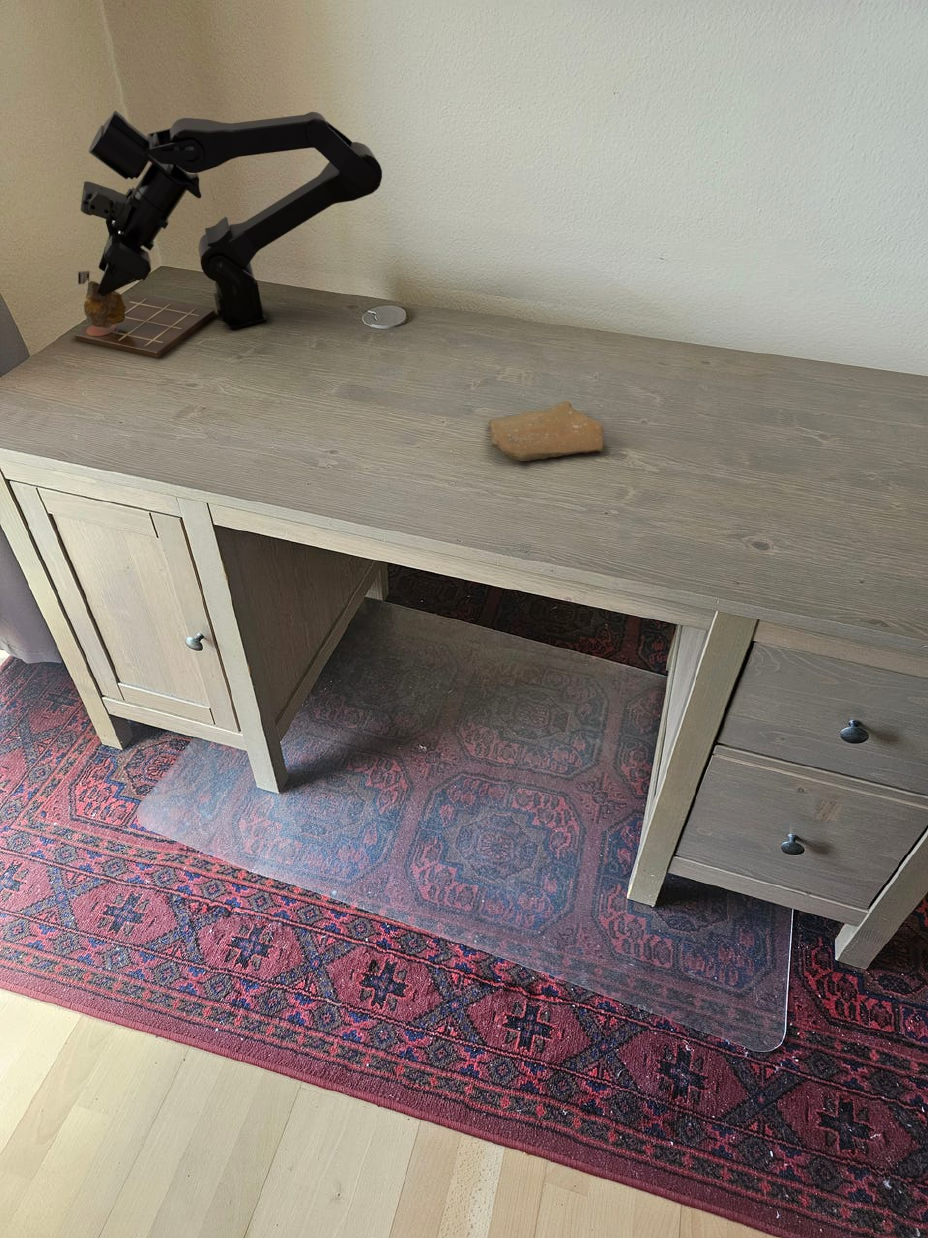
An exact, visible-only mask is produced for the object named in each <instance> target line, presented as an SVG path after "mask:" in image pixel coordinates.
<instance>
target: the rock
mask: <svg viewBox="0 0 928 1238" xmlns="http://www.w3.org/2000/svg"><path fill="white" fill-rule="evenodd" d="M90 274H91V271H90V270H87V271H86V270H82V271H78V272H77V284H78V286H80V285H85V283H87V282H88V284H87V289H86V290H87V291H86V294H85V301H84V303H83V309H84V310H83V312H84V315H85V316H86V321H87V323H88V324H89V325H90V324H92V325H94V326H97V327H103V328H109V327H111V326H112V325H114V324H117V323H120V322H123V320H124V318H125V309H126V306H125V305H124V303H123V302H124V301H123V297H122V294H121V293H119V292H118V291H117V290H115V291H113V292H111V293H109V294H107V295H105V296H102V295H100V294H98V293H97V290H98V287H99V284H100V282H97V281H94V280H90Z"/></svg>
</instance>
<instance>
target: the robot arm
mask: <svg viewBox="0 0 928 1238" xmlns="http://www.w3.org/2000/svg"><path fill="white" fill-rule="evenodd" d="M305 149H306V150H307V149H314V150H316V151H317V152H318V153H320V154H321V155H322V156H323V157H324V158H325V160H327V161H328V163H326V165H325V166H324V168H323V169H322V170H321V172H320V173H319V174H318V175H317V176H316V177H314V178H312V179H311V180H309V181H308V182H306V183H304V184H303V185H301V186H300V187H298V188H297V189H295V190H293V191H292V192H290V193H288V194H286V195H285V196H284V197H282V198H281V199H279V200H278V201H275V202H274V203H272V204H271V205H269V206H268V207H265V208H264V209H263V210H261V211H259V212H258V213H257V214H255V215H253V216H252V217H250V218H249V219H247V220H245V221H243V222H238V223H233V224H231V222H230V220H229V217H228V216H224V217H223V218H221V220H219V221H218V222H217V223H216V224H215V225H213V226H210V227H205V228H204V232H205V233H204V235H202V236H201V238H200V239H199V243H198V254H199V262H200V267H201V270H202V272H203V274H204V275H205V276H206V277H207V278H208V279H210V280H211V281H213V282H214V284H215V290H216V291H215V292H214V294H213V296H214V301H215V305H216V310H217V315H218V317H219V319H220V320H221V321H222V323H224V324H225V325H226V326H227V327H228V329H230V330H237V329H241V328H243V327H248V326H252V325H257V324H262V323H266V322H267V321H268V318H267V317H266V315H265V314H264V312H263V306H262V300H261V295H260V288H259V283H258V281H257V280H256V278H255V275H254V270H253V267H252V262H251V261H252V260H253V259H254V257H256V254H257V253H258V252H259V251H261V250H262V249H264V248H265V247H267V246H268V245H270V244H272V243H273V242H276V240H278V239H280V238H281V237H283V236H284V235H286V234H287V233H289V232H291V231H293V230H294V229H296V228H298V227H299V226H301V225H302V224H304V223H306V222H308V221H309V220H310V219H312V218H315V216H317V215H318V214H320V213H322V212H323V211H325V210H326V209H328V208H330V207H332V206H333V205H336V204H343V203H348V202H354V201H357V200H360V199H362V198H365V197H367V196H369V195H372V194H374V193H375V192H376V191H377V190H378V189H379V188H380V187H381V183H382V179H383V169H382V167H381V164H380V162H379V161H378V159H377V158H376V156H375V154H374V153H373V151H372V150H371V148H370V147H369V146H368V145H366V144H365V143H361V142H358V141H352V140H351V139H350V138H349V137H348V136H347V135H345V134H344V133H343V132H342V131H340V130H339V129H338V128H336V127H335V126H334V125H332V124H331V123H329V121H328V120H326V118H325V116H323V114H321V113H319V112H318V111H310V112H307V113H305V114H299V115H291V116H283V117H282V116H281V117H272V118H265V119H256V120H247V121H241V122H231V123H230V122H221V121H216V120H212V119H205V118H195V117H194V118H193V117H183V118H179V119H177V120H175V121H174V123H173V124H172V125H171V126H170V128H166V129H162V130H157V131H153V132H149V133H147V136H146V135H145V134H144V133H143V132H141V130H138V129H137V128H136V127H135V126H134V125H133V124H131V123H130V122H129V121H128V120H127V119H126V118H125V117H124V116H123V115H122V114H120V113H119V112H118V111H117V110H114V111H113V112H112V114H111V115H110V117H108V119H107V120H106V121H105V122H104V123H103V125H102V124H101V125H100V127H99V129H98V131H97V132H96V134H95V136H94V137H93V140H92V141H91V144H90V146H89V149H88V154H90V155H92V156H93V157H94V158H95V159H97V160H98V161H99V162H101V163H102V164H104V165H105V166H107V167H108V168H109V169H111V171H113V172H115V173H116V174H118V176H120V177H121V178H123V179H124V180H128V179H130V180H134V179H135V180H136V179H139V178H140V176H141V174H142V173H143V172H144V171H145V169H146V166H147V165H148V163H149V162H150V165H149V166H148V168H147V169H146V171H145V173H144V174H143V176H142V177H141V178H140V180H139V182H138V184H137V185H136V187H132V188H128V189H127V191H126V193H125V194H124V193H122V192H119V191H118V190H115V189H113V188H111V187H107V186H104V185H101V184H98V183H95V182H91V181H87V180H85V181H84V182H83V188H82V195H81V202H80V212H81V213H83V214H84V215H87V216H95V217H98V218H101V219H104V220H105V225H106V228H107V231H108V237H107V240H106V243H105V246H104V248H103V251H102V255H101V258H100V260H99V263H98V269H99V270H101V271H102V272H103V274H102V277H101V280H100V282H99V287H98V290H97V293H98V294H100V295H102V296H105V295H107V294H109V293H111V292H113V291H118V290H119V289H121V288H123V287H125V286H127V285H129V284H132V283H134V282H137V281H139V282H140V281H146V279H147V277H148V276H149V275H150V273H151V272H152V261H151V257H150V254H149V251H152V249H153V247H154V246H155V242H154V240H156V237H157V236H158V234H159V233H160V232H161V230H162V229H164V230H166V229H167V227H168V225H169V218H170V217H171V215H172V213H173V212H174V211H175V209H176V208H177V206H178V204H179V203H180V202H181V200H182V199H183V198H184V196H185V194H186V193H187V192H188V193H190V194H191V195H193V196H194V197H195V198H197V199H202V190H201V187H200V175H199V173H202V172H205V171H208V170H209V171H210V170H211V169H215V168H218V167H219V166H222V165H224V164H225V163H227V162H229V161H231V160H234V159H236V158H239V157H240V158H241V157H248V156H256V155H264V154H265V155H266V154H274V153H280V152H281V153H282V152H289V151H296V150H305ZM142 247H143V248H142ZM144 248H146V249H147V250H148V251H146V249H144Z"/></svg>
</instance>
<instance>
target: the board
mask: <svg viewBox="0 0 928 1238" xmlns="http://www.w3.org/2000/svg"><path fill="white" fill-rule="evenodd" d="M123 303H124V305H125V306H126V309H125V318H124V320H123V322H120V323H117V324H114V325H112V326H111V327H109V328H103V327H97V326H94V325H92V324H90V323H89V325H87V326H85V327H84V328H82V329H81V330H80V331H78V332H76V333H75V334H74V337H75V340H76V341H78V342H83V343H87V344H91V345H96V346H101V347H105V348H109V349H115V350H119V351H123V352H128V353H133V354H137V355H142V356H146V357H151V358H155V359H160V358H162V357H163V356H164V355H165V354H167V353H168V352H169V351H170V350H172V349H173V348H175V347H176V346H178V344H180V343H181V342H183V341H184V340H185V339H186V338H188V337H189V336H190V335H191V334H193V333H194V332H195V331H197V330H198V329H199V328H200V327H202V326H203V325H204V324H206V323H207V322H209V321H210V320H211V319H212V318H214V317H215V316H216V311H215V309H212V308H207V307H202V306H197V305H193V304H188V303H187V304H186V303H181V302H178V301H177V302H176V301H172V300H166V299H163V298H157V297H153V296H152V297H151V296H146V295H141V294H134V295H133V296H131V297H130V298H128V299H126V300H125V301H123Z"/></svg>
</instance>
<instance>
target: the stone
mask: <svg viewBox="0 0 928 1238" xmlns="http://www.w3.org/2000/svg"><path fill="white" fill-rule="evenodd" d="M487 425H488V427H489V432H490V435H491V436H490V438H491V439H490V441H491V446H492V447H493V448H494V449H497V450H499V451H501V452H503V453H504V454H505V455H506V456H507V457H509V458H510V459H512V460H515V461H521V462H529V461H535V460H546V459H548V458H557V457H562V456H569V455H575V454H579V453H583V454H587V453H591V452H602V451H603V449H604V440H603V433H604V428H603V425H602V424H601V423H600V422H599V421H596V420H595V419H592V418H590V417H589V416H587V415H586V414H583V413H582V412H580V411H578V410H577V409H575V408H573V406H572V404H571V402H569V401H566V400H564V401H562V402H560V403H559V402H558V404H555V405H553V406H551V407H548V408H543V409H539V410H535V411H534V410H533V411H529V412H525V413H519V414H517V415H511V416H504V417H500V418H499V417H498V418H493V419H489V421H488V422H487Z"/></svg>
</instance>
